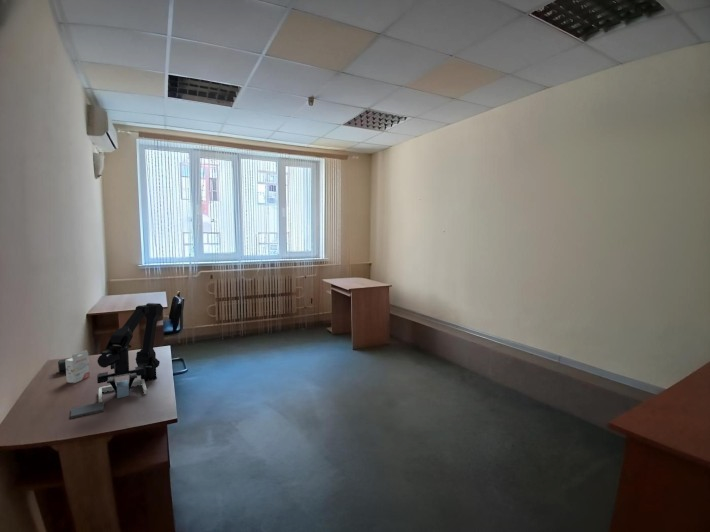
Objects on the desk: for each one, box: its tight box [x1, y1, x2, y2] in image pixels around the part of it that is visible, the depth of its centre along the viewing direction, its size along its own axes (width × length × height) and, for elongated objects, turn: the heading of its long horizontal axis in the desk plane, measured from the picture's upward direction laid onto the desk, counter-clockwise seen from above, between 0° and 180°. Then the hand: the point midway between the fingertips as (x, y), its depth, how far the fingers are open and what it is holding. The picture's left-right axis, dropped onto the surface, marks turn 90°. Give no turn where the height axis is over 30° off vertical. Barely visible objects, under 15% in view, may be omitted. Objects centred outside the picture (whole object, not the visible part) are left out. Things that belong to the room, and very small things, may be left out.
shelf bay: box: [98, 378, 148, 403], centre depth 166 cm, size 18×14×2 cm
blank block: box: [115, 379, 130, 399], centre depth 165 cm, size 4×8×5 cm, turn 36°
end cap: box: [57, 358, 67, 374], centre depth 191 cm, size 10×7×7 cm
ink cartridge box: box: [65, 349, 91, 384], centre depth 180 cm, size 9×5×15 cm, turn 168°
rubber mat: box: [70, 401, 105, 420], centre depth 149 cm, size 11×8×1 cm
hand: (122, 391), depth 165 cm, fingers closed on blank block, 4 cm apart
